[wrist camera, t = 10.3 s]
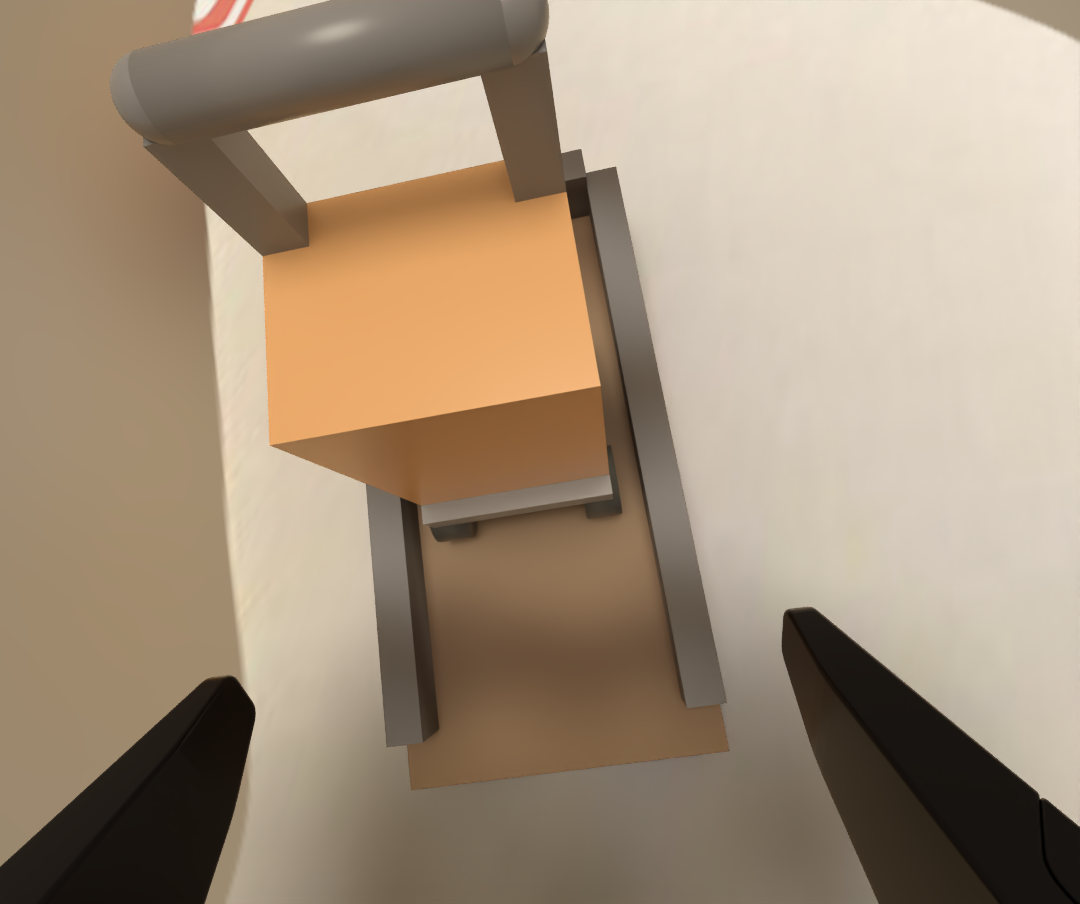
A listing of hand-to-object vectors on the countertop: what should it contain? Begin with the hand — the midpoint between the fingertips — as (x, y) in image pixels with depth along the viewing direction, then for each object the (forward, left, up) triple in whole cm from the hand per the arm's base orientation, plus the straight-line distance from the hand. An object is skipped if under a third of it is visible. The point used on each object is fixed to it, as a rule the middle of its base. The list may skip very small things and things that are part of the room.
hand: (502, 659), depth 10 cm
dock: (+5, 0, -10) cm, 11 cm away
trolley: (+6, -1, -8) cm, 10 cm away
